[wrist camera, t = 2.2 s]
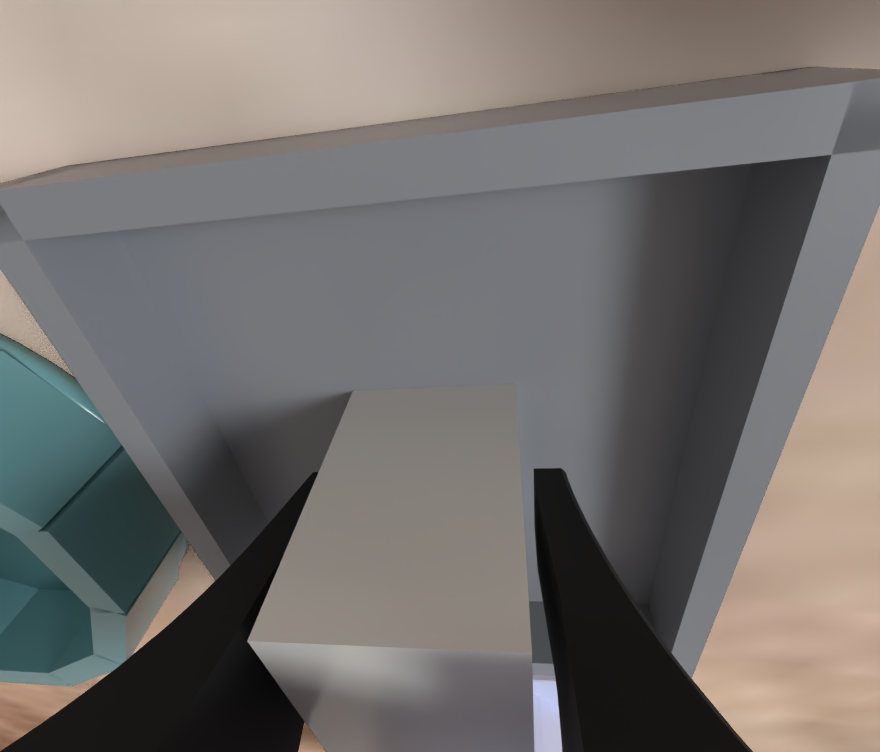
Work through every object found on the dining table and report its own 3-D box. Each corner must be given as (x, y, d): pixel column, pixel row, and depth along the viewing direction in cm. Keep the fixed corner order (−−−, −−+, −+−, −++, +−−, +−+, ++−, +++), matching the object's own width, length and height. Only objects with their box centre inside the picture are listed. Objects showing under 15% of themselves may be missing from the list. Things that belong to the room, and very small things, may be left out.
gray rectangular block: (520, 509, 13) (534, 772, 8) (386, 509, 14) (328, 755, 9) (515, 384, 11) (531, 653, 6) (353, 390, 11) (246, 641, 7)
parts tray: (665, 603, 16) (689, 682, 14) (296, 593, 18) (271, 661, 16) (811, 67, 7) (932, 71, 5) (67, 165, 9) (-50, 196, 7)
